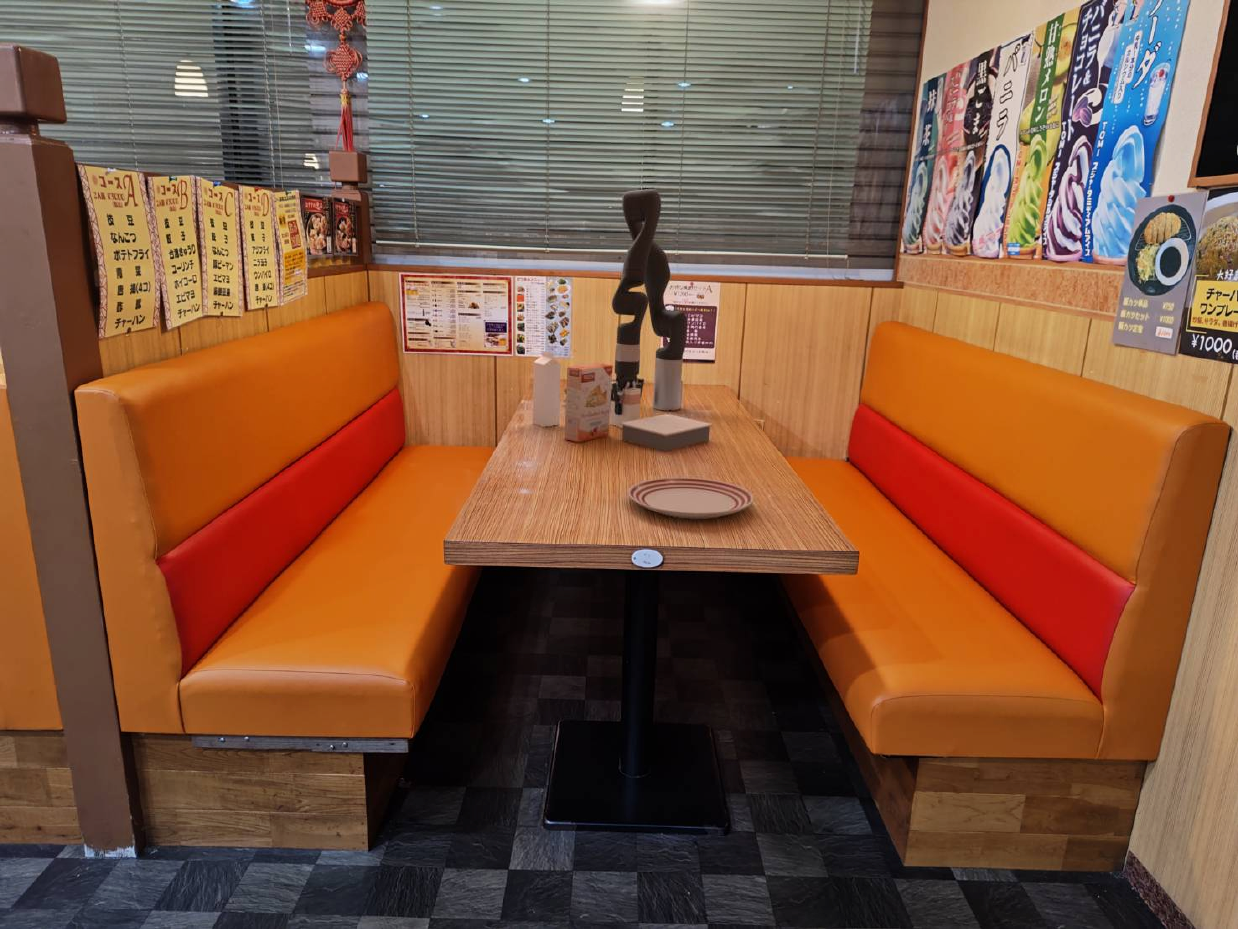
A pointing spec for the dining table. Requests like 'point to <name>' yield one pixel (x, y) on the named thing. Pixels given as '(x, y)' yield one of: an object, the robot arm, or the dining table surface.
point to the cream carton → (627, 407)
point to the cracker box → (588, 401)
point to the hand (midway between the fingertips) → (624, 413)
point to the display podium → (665, 432)
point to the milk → (546, 390)
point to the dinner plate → (690, 497)
